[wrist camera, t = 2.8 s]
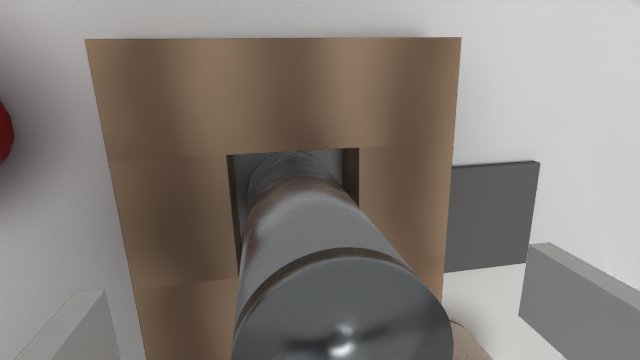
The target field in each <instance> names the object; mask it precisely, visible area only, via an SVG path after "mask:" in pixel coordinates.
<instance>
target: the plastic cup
mask: <svg viewBox="0 0 640 360" xmlns="http://www.w3.org/2000/svg"><path fill="white" fill-rule="evenodd" d="M13 137H14V136H13V131H12V125H11V120H10V116H9V115H8V113H7V111H6V110H5V108H4V107H3V105H2V104H1V102H0V163H1V162H2V161H3V160H4V159H5V158H6V157H7V156H8V155H9V151H10V148H11V144H12V141H13Z"/></svg>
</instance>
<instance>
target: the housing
mask: <svg viewBox="0 0 640 360" xmlns="http://www.w3.org/2000/svg"><path fill="white" fill-rule="evenodd" d="M85 44H86V49H87V55H88V60H89V65H90V70H91V75H92V80H93V86H94V91H95V96H96V101H97V106H98V111H99V117H100V122H101V127H102V132H103V137H104V142H105V148H106V153H107V158H108V163H109V168H110V173H111V179H112V184H113V189H114V194H115V199H116V204H117V210H118V215H119V220H120V225H121V230H122V235H123V240H124V246H125V251H126V256H127V261H128V266H129V271H130V277H131V282H132V287H133V292H134V297H135V302H136V308H137V313H138V318H139V323H140V328H141V333H142V339H143V344H144V349H145V354H146V359H147V360H231V351H232V342H233V332H234V322H235V312H236V302H237V292H238V283H239V273H240V263H241V253H242V245H241V235H240V224H239V214H238V204H237V193H236V183H235V172H234V162H233V155H236V154H253V153H271V152H288V151H305V150H323V149H340V148H342V178H343V189H344V190H345V191H346V193H347V194H348V195H349V196H350V197H351V198H352V200H353V201H354V202H355V203H356V204H357V205H358V207H359V208H360V209H361V210H362V211H363V213H364V214H365V215H366V216H367V217H368V218H369V220H370V221H371V222H372V223H373V224H374V225H375V227H376V228H377V229H378V230H379V231H380V232H381V234H382V235H383V236H384V237H385V238H386V239H387V241H388V242H389V243H390V244H391V245H392V246H393V248H394V249H395V250H396V251H397V252H398V254H399V255H400V256H401V257H402V258H403V259H404V261H405V262H406V263H407V264H408V265H409V266H410V268H411V269H412V270H413V271H414V272H415V273H416V275H417V276H418V277H419V278H420V279H421V280H422V282H423V283H424V284H425V285H426V286H427V288H428V289H429V290H430V291H431V292H432V293H433V295H434V296H435V297H436V298H437V299H438V301H439V302H440V304H441V300H442V287H443V274H444V261H445V248H446V234H447V221H448V208H449V195H450V182H451V169H452V155H453V142H454V129H455V116H456V103H457V89H458V76H459V63H460V50H461V37H438V38H226V39H85Z"/></svg>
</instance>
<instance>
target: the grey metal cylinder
mask: <svg viewBox="0 0 640 360" xmlns="http://www.w3.org/2000/svg"><path fill="white" fill-rule="evenodd" d="M453 349H454V341H453V333H452V328H451V325H450V321H449V318H448V316H447V314H446V312H445V310H444V308H443V307H442V305H441V304H440V302H439V301H438V299H437V298H436V297H435V296H434V295H433V293H432V292H431V291H430V290H429V289H428V288H427V286H426V285H425V284H424V283H423V282H422V280H421V279H420V278H419V277H418V276H417V275H416V273H415V272H414V271H413V270H412V269H411V268H410V266H409V265H408V264H407V263H406V262H405V261H404V259H403V258H402V257H401V256H400V255H399V254H398V252H397V251H396V250H395V249H394V248H393V246H392V245H391V244H390V243H389V242H388V241H387V239H386V238H385V237H384V236H383V235H382V234H381V232H380V231H379V230H378V229H377V228H376V227H375V225H374V224H373V223H372V222H371V221H370V220H369V218H368V217H367V216H366V215H365V214H364V213H363V211H362V210H361V209H360V208H359V207H358V205H357V204H356V203H355V202H354V201H353V200H352V198H351V197H350V196H349V195H348V194H347V193H346V191H345V190H344V189H343V188H342V187H341V186H340V184H339V183H338V182H337V181H336V180H335V179H334V177H333V176H332V175H331V174H330V173H329V171H328V170H327V169H326V168H325V167H324V166H323V165H322V164H321V163H320V162H319V161H318V160H317V159H316V158H314V157H312V156H311V155H308V154H306V153H303V152H298V151H288V152H280V153H277V154H274V155H272V156H270V157H268V158H267V159H265V160H264V161H263V162H262V163H261V164H260V165H259V166H258V167H257V168H256V169H255V171H254V172H253V174H252V176H251V179H250V182H249V185H248V194H247V204H246V214H245V224H244V234H243V243H242V253H241V263H240V273H239V283H238V292H237V302H236V312H235V322H234V332H233V342H232V351H231V360H452V359H453Z"/></svg>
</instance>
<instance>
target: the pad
mask: <svg viewBox="0 0 640 360" xmlns="http://www.w3.org/2000/svg"><path fill="white" fill-rule="evenodd" d="M539 169H540V163H539V162H535V161H530V162H515V163H501V164H487V165H472V166H458V167H452V169H451V182H450V195H449V208H448V221H447V234H446V248H445V261H444V273H448V272H456V271H464V270H472V269H480V268H488V267H496V266H505V265H513V264H521V263H526V259H527V252H528V245H529V238H530V231H531V224H532V217H533V210H534V204H535V197H536V190H537V183H538V176H539Z"/></svg>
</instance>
